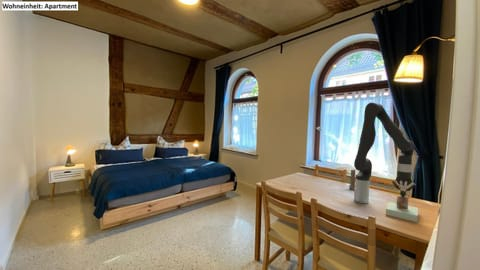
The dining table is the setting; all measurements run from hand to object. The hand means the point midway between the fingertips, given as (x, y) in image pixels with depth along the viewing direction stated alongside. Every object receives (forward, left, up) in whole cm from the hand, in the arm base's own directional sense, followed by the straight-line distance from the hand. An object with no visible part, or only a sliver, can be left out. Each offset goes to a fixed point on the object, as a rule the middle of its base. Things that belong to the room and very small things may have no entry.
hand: (402, 196), depth 140 cm
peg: (0, 0, -12) cm, 12 cm away
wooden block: (-35, +38, -12) cm, 53 cm away
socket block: (0, 0, -12) cm, 12 cm away
